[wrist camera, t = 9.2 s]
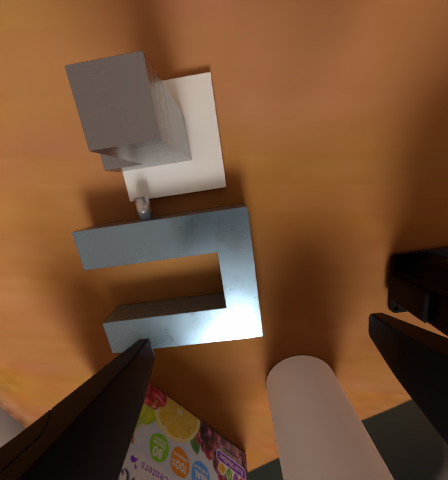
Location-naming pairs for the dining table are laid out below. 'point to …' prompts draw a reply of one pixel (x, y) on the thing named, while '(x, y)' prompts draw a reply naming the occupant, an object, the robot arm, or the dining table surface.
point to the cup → (318, 425)
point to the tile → (200, 141)
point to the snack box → (178, 446)
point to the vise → (173, 246)
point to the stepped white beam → (128, 113)
